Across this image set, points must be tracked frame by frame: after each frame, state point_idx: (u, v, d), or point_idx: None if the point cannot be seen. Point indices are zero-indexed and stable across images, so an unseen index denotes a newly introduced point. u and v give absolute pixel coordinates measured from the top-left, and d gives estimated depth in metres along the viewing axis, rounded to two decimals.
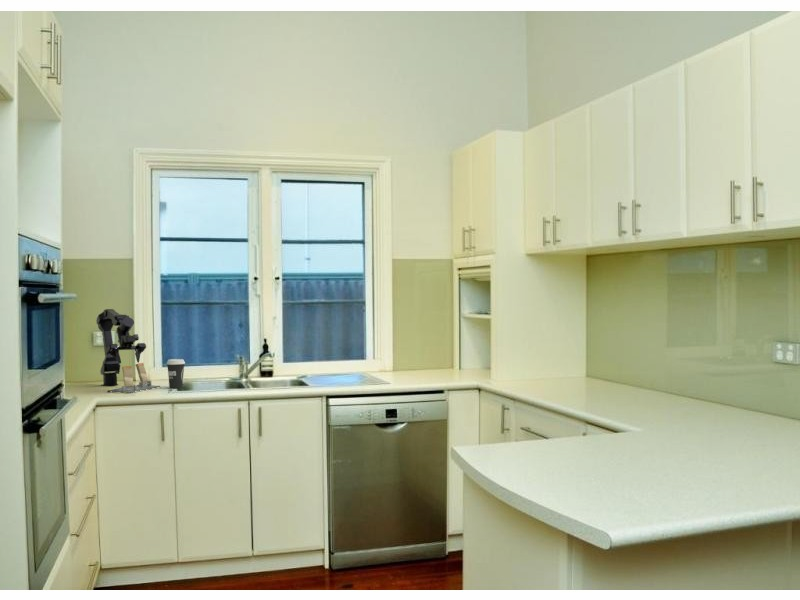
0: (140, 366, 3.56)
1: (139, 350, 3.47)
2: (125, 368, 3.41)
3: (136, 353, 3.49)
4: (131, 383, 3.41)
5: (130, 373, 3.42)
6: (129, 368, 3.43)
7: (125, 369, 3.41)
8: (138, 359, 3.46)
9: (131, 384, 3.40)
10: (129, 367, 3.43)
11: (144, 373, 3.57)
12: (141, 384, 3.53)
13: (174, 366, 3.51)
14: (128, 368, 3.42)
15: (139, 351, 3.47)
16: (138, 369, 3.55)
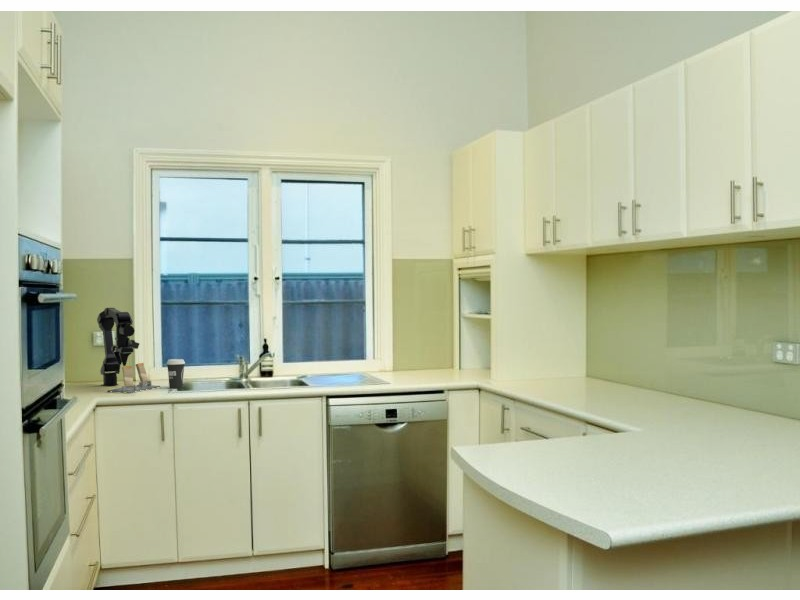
0: (140, 366, 3.56)
1: None
2: (125, 368, 3.41)
3: (118, 354, 3.54)
4: (131, 383, 3.41)
5: (130, 373, 3.42)
6: (129, 368, 3.43)
7: (125, 369, 3.41)
8: (121, 362, 3.55)
9: (131, 384, 3.40)
10: (129, 367, 3.43)
11: (144, 373, 3.57)
12: (141, 384, 3.53)
13: (174, 366, 3.51)
14: (128, 368, 3.42)
15: None
16: (138, 369, 3.55)
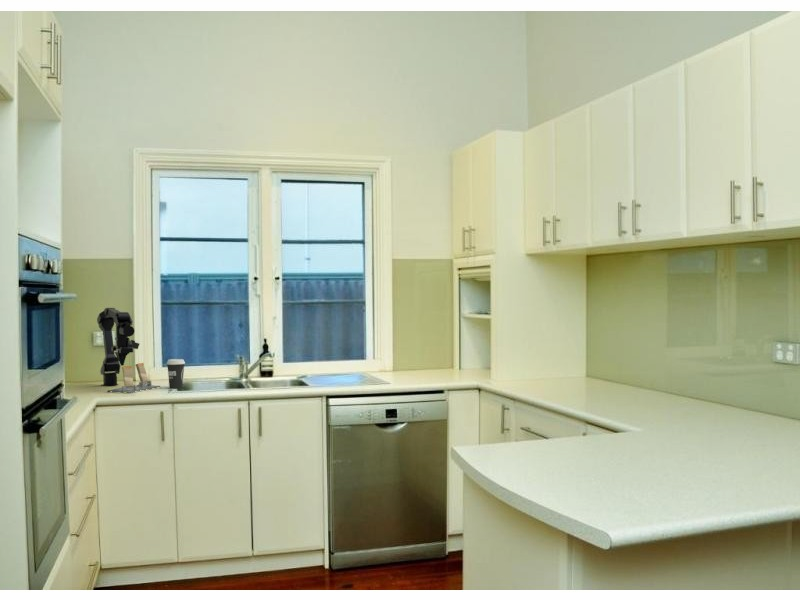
0: (140, 366, 3.56)
1: None
2: (125, 368, 3.41)
3: None
4: (131, 383, 3.41)
5: (130, 373, 3.42)
6: (129, 368, 3.43)
7: (125, 369, 3.41)
8: (123, 363, 3.52)
9: (131, 384, 3.40)
10: (129, 367, 3.43)
11: (144, 373, 3.57)
12: (141, 384, 3.53)
13: (174, 366, 3.51)
14: (128, 368, 3.42)
15: None
16: (138, 369, 3.55)
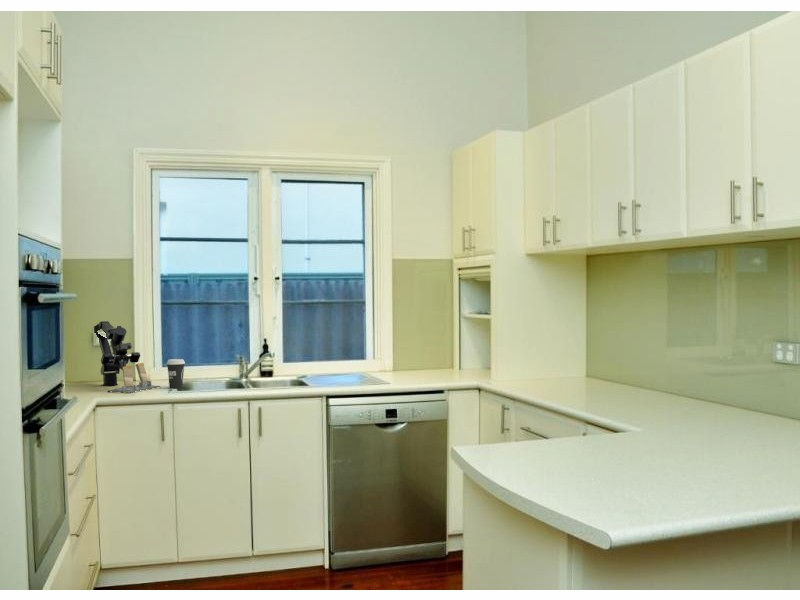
0: (140, 366, 3.56)
1: (125, 359, 3.49)
2: (125, 368, 3.41)
3: (122, 363, 3.50)
4: (131, 383, 3.41)
5: (130, 373, 3.42)
6: (129, 368, 3.43)
7: (125, 369, 3.41)
8: None
9: (131, 384, 3.40)
10: (129, 367, 3.43)
11: (144, 373, 3.57)
12: (141, 384, 3.53)
13: (174, 366, 3.51)
14: (128, 368, 3.42)
15: (125, 360, 3.49)
16: (138, 369, 3.55)
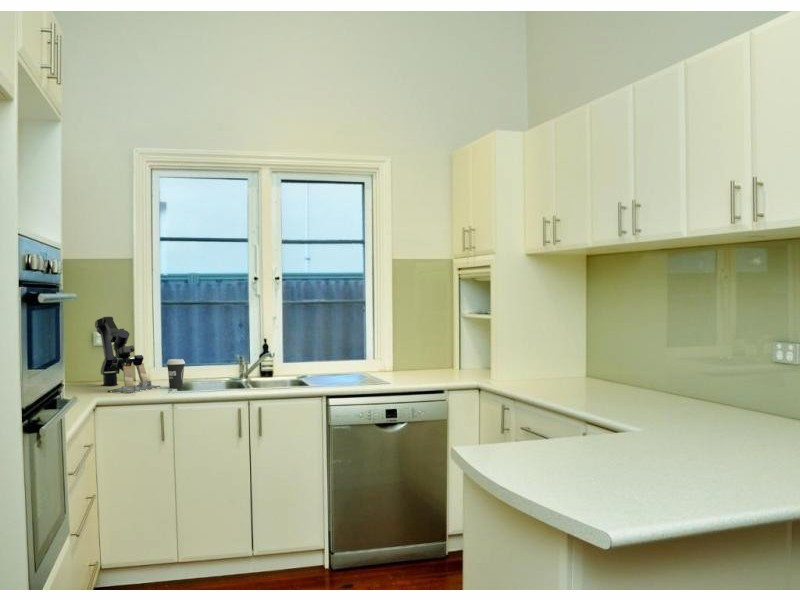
0: (140, 366, 3.56)
1: (128, 362, 3.45)
2: (126, 368, 3.41)
3: None
4: (131, 383, 3.40)
5: (130, 373, 3.42)
6: (130, 368, 3.42)
7: (126, 369, 3.40)
8: None
9: (131, 384, 3.40)
10: (130, 367, 3.42)
11: (144, 373, 3.57)
12: (141, 384, 3.53)
13: (174, 366, 3.51)
14: (129, 368, 3.42)
15: (128, 363, 3.45)
16: (138, 369, 3.55)
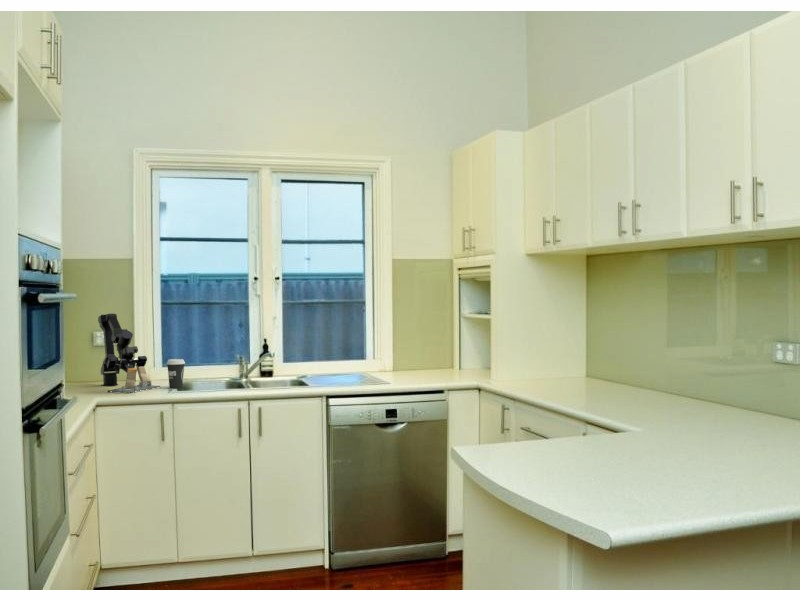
0: None
1: (131, 363, 3.41)
2: (130, 372, 3.35)
3: None
4: (132, 385, 3.39)
5: (134, 376, 3.38)
6: (134, 371, 3.36)
7: (130, 372, 3.35)
8: None
9: (132, 386, 3.39)
10: (134, 371, 3.36)
11: (144, 373, 3.57)
12: (141, 384, 3.53)
13: (174, 366, 3.51)
14: (133, 371, 3.36)
15: (131, 364, 3.41)
16: (138, 369, 3.55)
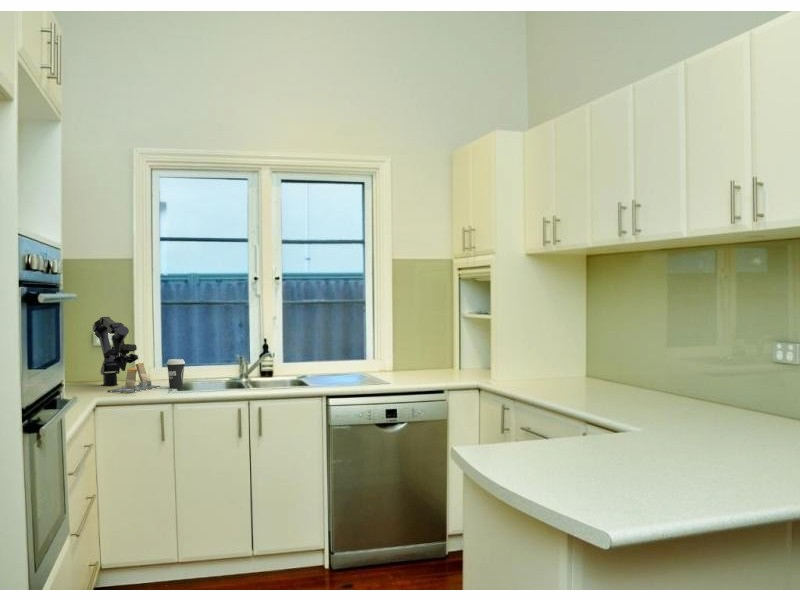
0: (140, 366, 3.56)
1: (126, 359, 3.51)
2: (130, 372, 3.35)
3: None
4: (132, 385, 3.39)
5: (134, 376, 3.38)
6: (134, 372, 3.36)
7: (130, 372, 3.35)
8: (124, 368, 3.49)
9: (132, 386, 3.39)
10: (134, 371, 3.36)
11: (144, 373, 3.57)
12: (141, 384, 3.53)
13: (174, 366, 3.51)
14: (133, 372, 3.36)
15: (126, 360, 3.51)
16: (138, 369, 3.55)
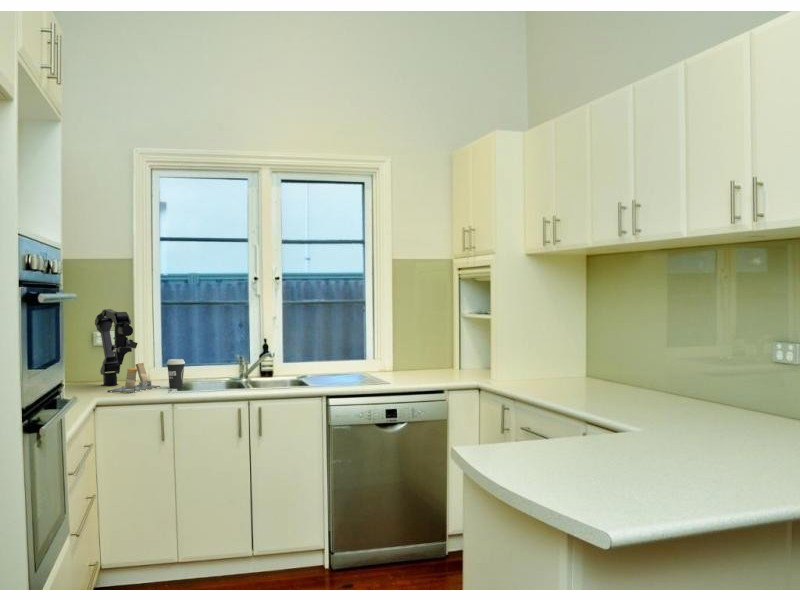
0: (140, 366, 3.56)
1: None
2: (130, 372, 3.35)
3: None
4: (132, 385, 3.39)
5: (134, 376, 3.38)
6: (134, 372, 3.36)
7: (130, 372, 3.35)
8: (121, 362, 3.55)
9: (132, 386, 3.39)
10: (134, 371, 3.36)
11: (144, 373, 3.57)
12: (141, 384, 3.53)
13: (174, 366, 3.51)
14: (133, 372, 3.36)
15: None
16: (138, 369, 3.55)
